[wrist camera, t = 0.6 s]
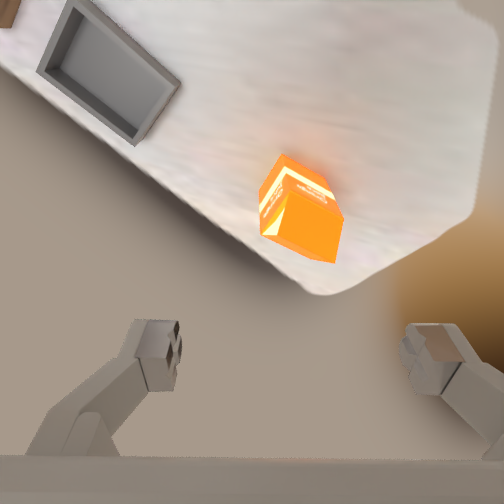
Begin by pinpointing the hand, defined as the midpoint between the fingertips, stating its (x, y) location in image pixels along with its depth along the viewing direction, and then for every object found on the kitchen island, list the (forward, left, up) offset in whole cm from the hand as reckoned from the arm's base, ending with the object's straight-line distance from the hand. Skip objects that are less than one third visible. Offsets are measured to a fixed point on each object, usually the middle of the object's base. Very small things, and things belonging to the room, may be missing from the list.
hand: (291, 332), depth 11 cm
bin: (-1, -21, -44) cm, 49 cm away
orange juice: (+12, +7, -45) cm, 47 cm away
